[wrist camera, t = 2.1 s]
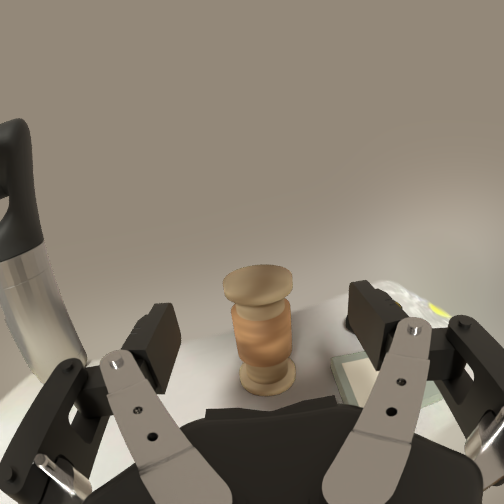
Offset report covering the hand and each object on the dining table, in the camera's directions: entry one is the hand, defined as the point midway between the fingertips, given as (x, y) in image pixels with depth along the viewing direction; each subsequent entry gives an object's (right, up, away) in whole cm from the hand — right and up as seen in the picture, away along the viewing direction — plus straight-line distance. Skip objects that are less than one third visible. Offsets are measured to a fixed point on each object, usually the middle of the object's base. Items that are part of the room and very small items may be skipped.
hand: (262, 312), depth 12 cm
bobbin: (+1, -11, +16) cm, 19 cm away
